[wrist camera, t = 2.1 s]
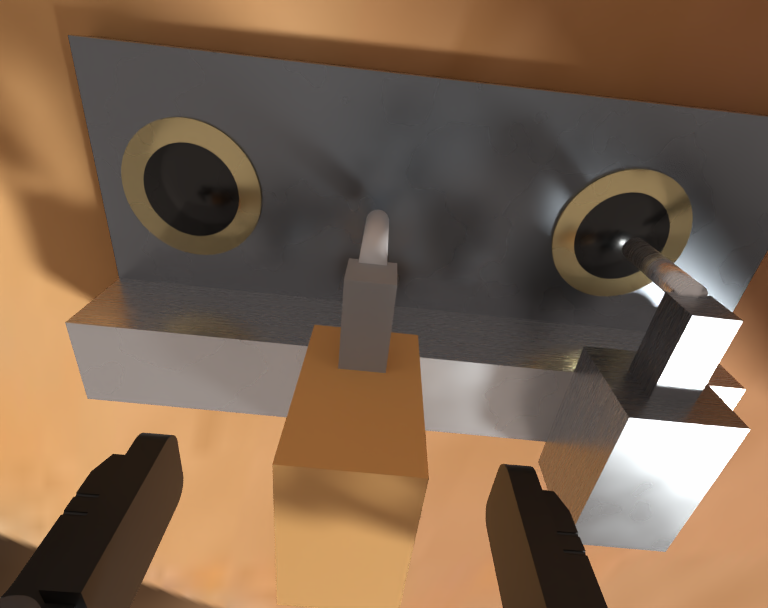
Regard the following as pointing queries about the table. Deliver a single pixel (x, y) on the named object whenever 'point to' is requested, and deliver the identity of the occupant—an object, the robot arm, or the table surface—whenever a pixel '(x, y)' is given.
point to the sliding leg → (353, 450)
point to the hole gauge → (434, 257)
